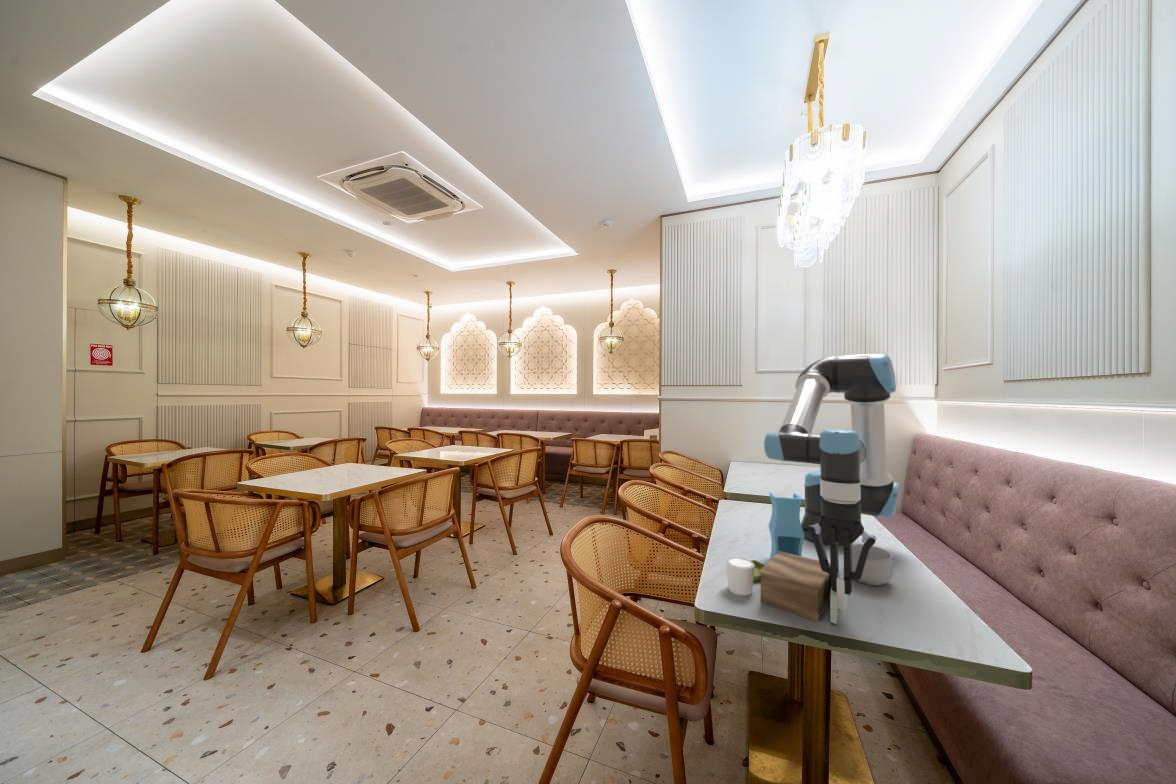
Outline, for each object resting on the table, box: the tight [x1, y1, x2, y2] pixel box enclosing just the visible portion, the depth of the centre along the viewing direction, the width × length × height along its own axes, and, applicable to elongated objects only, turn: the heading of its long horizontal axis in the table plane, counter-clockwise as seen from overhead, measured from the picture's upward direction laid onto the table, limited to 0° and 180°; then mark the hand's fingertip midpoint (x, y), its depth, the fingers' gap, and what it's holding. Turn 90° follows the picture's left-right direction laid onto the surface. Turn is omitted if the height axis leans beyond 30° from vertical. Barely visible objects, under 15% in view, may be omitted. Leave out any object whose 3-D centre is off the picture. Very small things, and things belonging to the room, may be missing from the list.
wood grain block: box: [759, 551, 831, 622], centre depth 96 cm, size 17×13×8 cm
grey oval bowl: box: [852, 542, 894, 586], centre depth 108 cm, size 14×11×8 cm
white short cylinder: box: [725, 557, 755, 597], centre depth 100 cm, size 7×7×7 cm
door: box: [829, 572, 840, 625], centre depth 91 cm, size 16×2×6 cm, turn 146°
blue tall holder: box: [768, 491, 805, 560], centre depth 117 cm, size 8×8×20 cm
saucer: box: [750, 559, 766, 582], centre depth 110 cm, size 9×9×2 cm
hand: (841, 606), depth 87 cm, fingers closed
